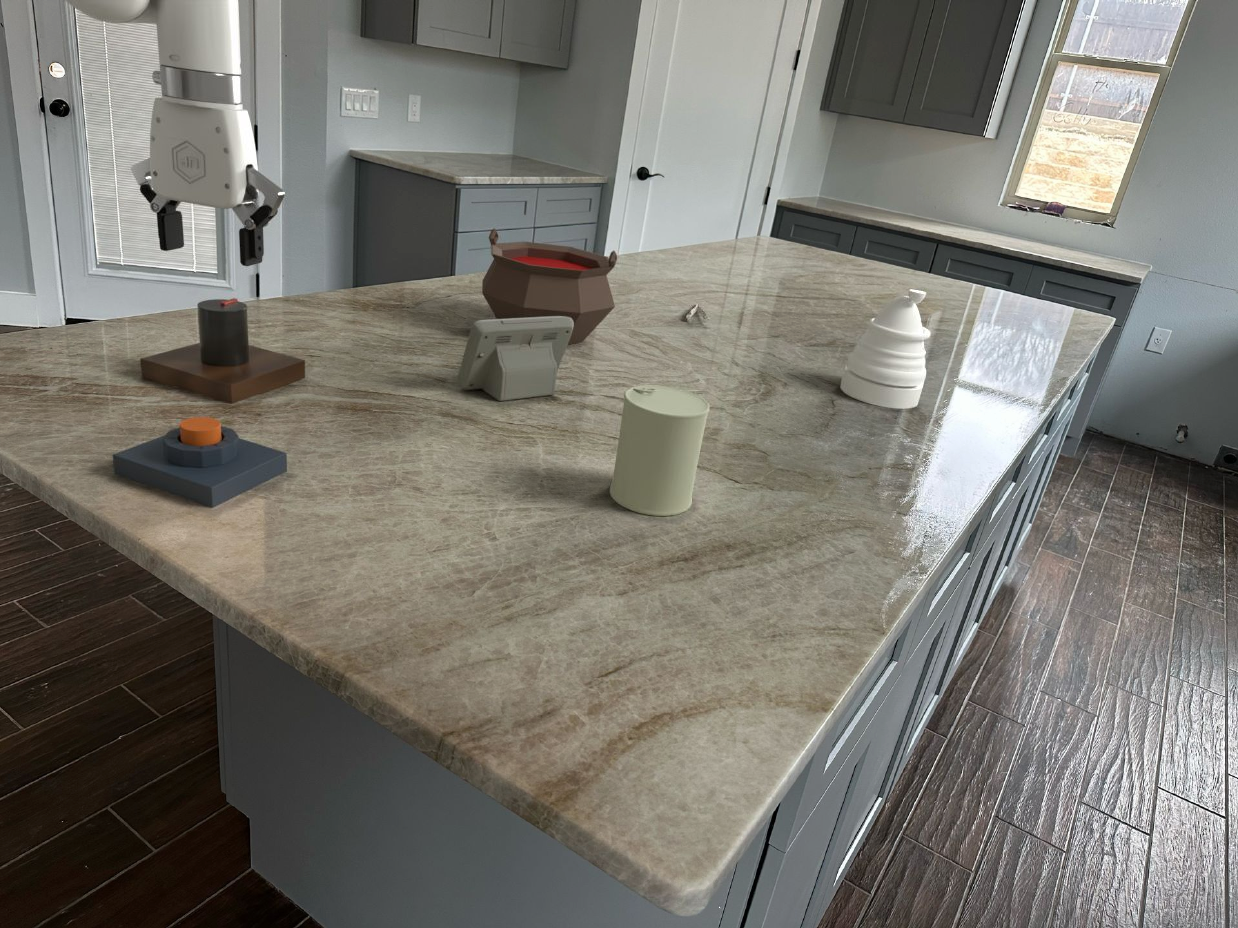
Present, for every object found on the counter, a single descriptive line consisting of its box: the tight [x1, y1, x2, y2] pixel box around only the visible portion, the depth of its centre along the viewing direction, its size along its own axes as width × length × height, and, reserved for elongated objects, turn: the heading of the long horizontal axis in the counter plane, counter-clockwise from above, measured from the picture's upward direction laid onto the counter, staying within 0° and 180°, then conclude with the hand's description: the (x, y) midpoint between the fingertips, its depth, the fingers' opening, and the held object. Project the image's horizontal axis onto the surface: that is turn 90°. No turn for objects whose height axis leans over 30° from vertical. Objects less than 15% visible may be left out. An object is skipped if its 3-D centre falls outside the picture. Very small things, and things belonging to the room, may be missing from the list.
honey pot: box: [839, 289, 931, 410], centre depth 138 cm, size 13×13×18 cm
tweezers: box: [685, 302, 710, 326], centre depth 177 cm, size 18×5×2 cm, turn 175°
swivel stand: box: [139, 342, 306, 405], centre depth 109 cm, size 14×13×2 cm
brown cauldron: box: [481, 227, 618, 346], centre depth 145 cm, size 24×24×16 cm
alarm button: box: [179, 416, 222, 446], centre depth 83 cm, size 4×4×2 cm
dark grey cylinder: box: [196, 297, 250, 366], centre depth 107 cm, size 6×6×7 cm
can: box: [609, 384, 710, 517], centre depth 92 cm, size 9×9×12 cm
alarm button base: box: [112, 425, 288, 509], centre depth 84 cm, size 12×10×4 cm
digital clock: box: [456, 316, 574, 402], centre depth 118 cm, size 16×9×11 cm, turn 116°
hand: (211, 256), depth 94 cm, fingers open, 9 cm apart
